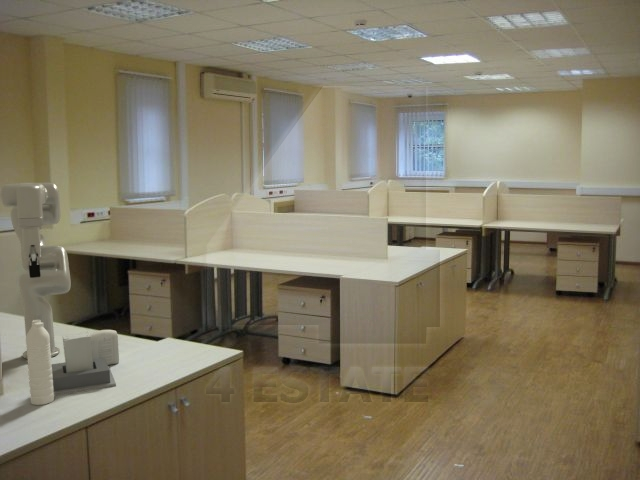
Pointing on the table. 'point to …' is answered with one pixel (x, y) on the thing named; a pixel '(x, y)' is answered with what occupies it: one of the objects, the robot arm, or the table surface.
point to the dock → (82, 378)
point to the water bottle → (39, 364)
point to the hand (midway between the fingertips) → (35, 274)
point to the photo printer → (105, 345)
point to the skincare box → (78, 352)
